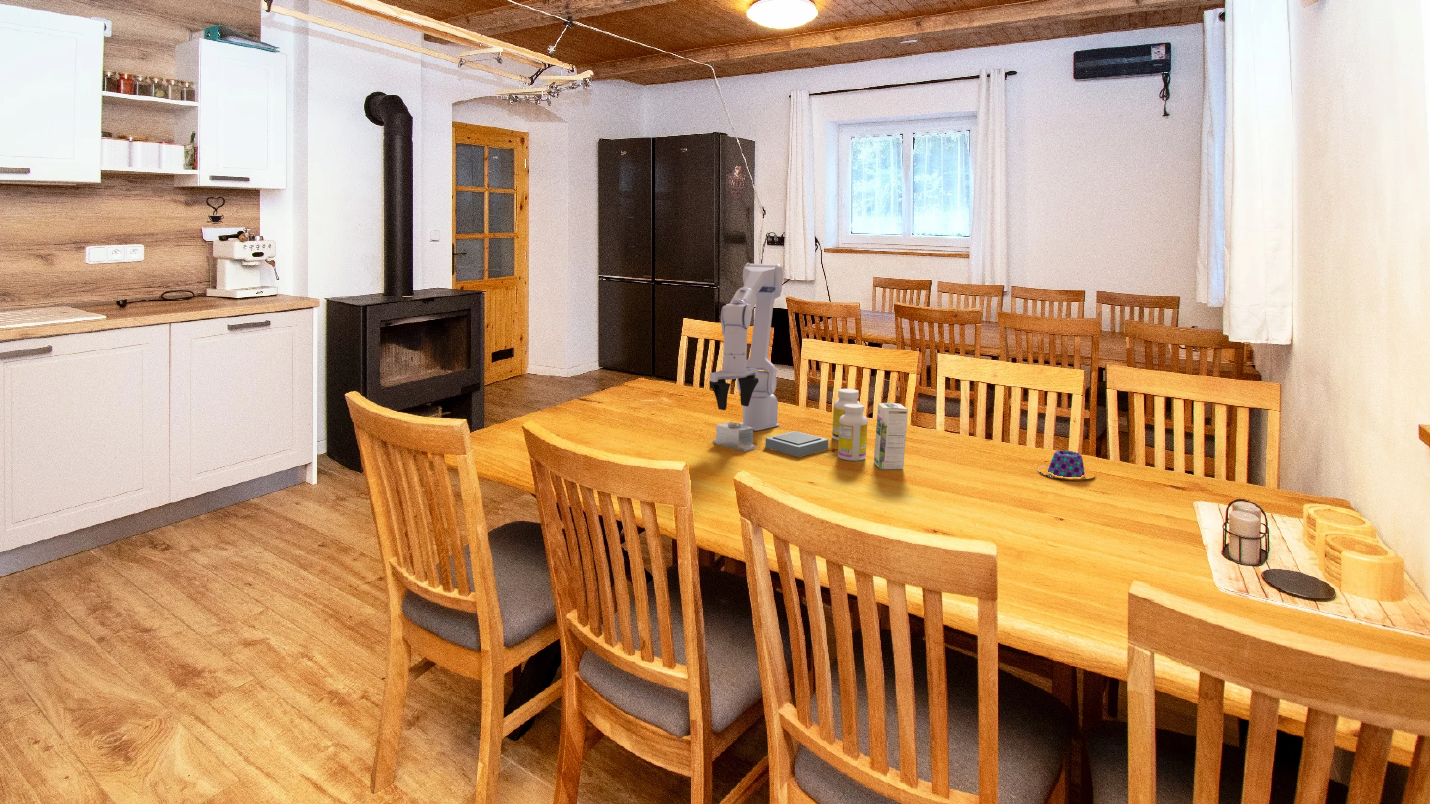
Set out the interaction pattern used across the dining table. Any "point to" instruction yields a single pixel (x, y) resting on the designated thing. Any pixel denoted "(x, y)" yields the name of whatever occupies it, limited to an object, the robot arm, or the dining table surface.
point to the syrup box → (890, 436)
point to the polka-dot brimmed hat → (1066, 464)
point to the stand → (796, 443)
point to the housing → (734, 436)
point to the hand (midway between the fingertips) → (733, 407)
